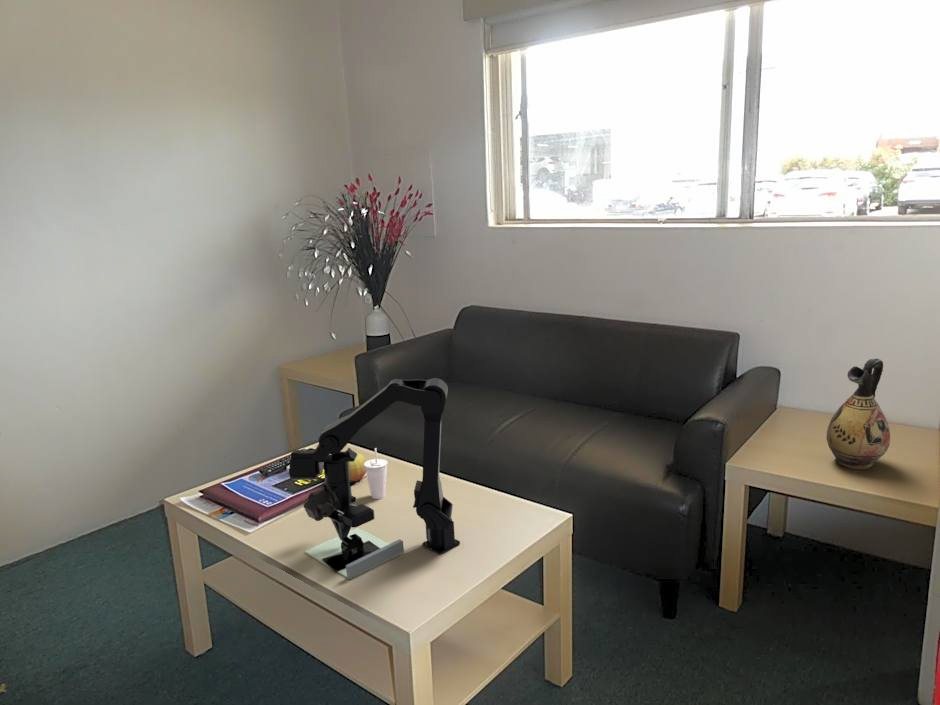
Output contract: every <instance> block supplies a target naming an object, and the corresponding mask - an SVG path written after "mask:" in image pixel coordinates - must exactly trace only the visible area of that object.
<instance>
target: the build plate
mask: <svg viewBox="0 0 940 705" xmlns="http://www.w3.org/2000/svg"><path fill="white" fill-rule="evenodd" d="M350 538H351V539H350ZM350 538H349V537H345V538H342V543H341V550H342V551H341V552H338V553H336V554H333V555H331V556H328V557H326V558H323V559H322V561H323V562H324V563H326V564H327V565H328V566H329V568H330V569H332V571H334V572H336V573H338V571H341V570H343V569H345V568H346V565H348V564H350V563H352V562H354V561H356V560H358V559H360V558H362V557H364V556H366V555H368V554H370V553H372V552H374V551H376V550H378V549H380V548H379V547H378V546H376V545H375V544H373V543H372V542H371V541H366V542H364V543H363V541H362V538H361V537H359V536H358V535H357V534H353V535H350ZM327 565H326V566H327ZM328 566H327V567H328Z"/></svg>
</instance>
